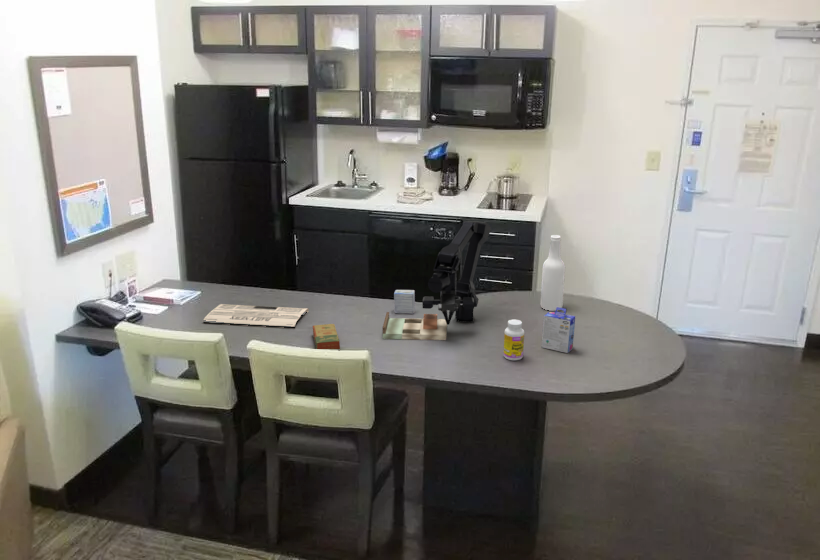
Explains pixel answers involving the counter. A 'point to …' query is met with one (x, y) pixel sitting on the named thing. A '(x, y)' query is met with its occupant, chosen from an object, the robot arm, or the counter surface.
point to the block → (430, 321)
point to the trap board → (412, 329)
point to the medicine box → (404, 301)
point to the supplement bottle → (513, 340)
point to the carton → (326, 336)
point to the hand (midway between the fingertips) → (448, 324)
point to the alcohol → (553, 277)
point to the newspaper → (256, 315)
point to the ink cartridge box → (558, 331)
